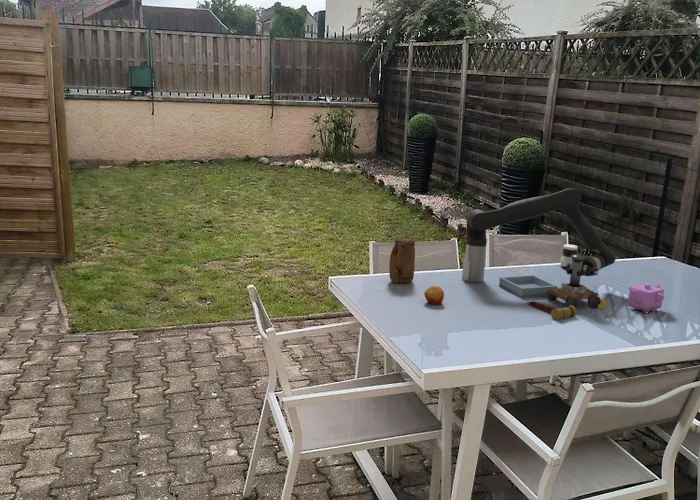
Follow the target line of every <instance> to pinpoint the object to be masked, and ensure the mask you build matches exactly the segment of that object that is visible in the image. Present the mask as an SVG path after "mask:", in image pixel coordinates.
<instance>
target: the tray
mask: <svg viewBox="0 0 700 500" xmlns="http://www.w3.org/2000/svg"><path fill="white" fill-rule="evenodd" d="M498 287H500V288H502V289H504V290H506V291H508V292H510V293H512V294H514V295H516V296H518V297H520V298H534V297H545V296H546V292H547V290H548V289H550V288H558V285H556V284H555V283H551V282H549V281H547V280H545V279H543V278H540V277H539V276H536V275H533V274H528V275H513V276H501V277H499V284H498Z"/></svg>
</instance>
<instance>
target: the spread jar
mask: <svg viewBox="0 0 700 500" xmlns="http://www.w3.org/2000/svg"><path fill="white" fill-rule="evenodd" d="M578 248H579V247H578V245H575V244H566V243H565V244H563V248H562V250H561V255H560V256H561V257H560V268H561V267H562V269H563V268H564V269H565V270H566V266H567V263H570V264H571V265H572V259H571V255H579V252H578Z"/></svg>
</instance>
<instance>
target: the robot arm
mask: <svg viewBox="0 0 700 500" xmlns="http://www.w3.org/2000/svg"><path fill="white" fill-rule="evenodd" d="M581 201H582V193H580V191H579V190H577V189H576V188H574V187H573V188H572V187H569V188H565V189H563V190H560V191H557V192H554V193H551V194H547V195H541V196H536V197H535V196H534V197H529V198H525V199H520V200H517V201H514V202H511V203H508V204H507V205H505V206H503V207H501V208H499V209H494V210H490V211H484V210H482V209H479V208H477V209H473V210H471V211H470V212H469V213H468V215H467V219H466V228H465V229H466V232H465V234H466V235H465V238H466V245H465V247H466V248H465V256H464V257H465V258H464V259H463V260H462V261H463V262H462V275H461V279H462V280H464V281H466V282H467V283H482V282H484V279H485V269H486V268H485V266H486V257H487V256H486V255H487V243H488V239H487V230H490V229H493V228H495V227H499V226H502V225H507V224H512V223H517V222H521V221H526V220H530V219H534V218H537V217H539V216H541V215H544V214H547V213H550V212H553V211H556V210H561V211H562V213H564V215H565V216H566V217H567V219H568V220H569V221H570V222H571V224H572V226H573V227H574V229H575V230H576V232H577V233H578V235H579V237H580V239H581V240H582V243H583V244H584V246H585V248H586V249H587V250H588V251H593V250H598V251H599V252H598V253H595V254H592V255H590V256H587V257H584V260H583V261H582V269H581V270H580V271H578V276H579V277H580V276H581V277H593V276H598V274H599V271H600V270H601V269H604V268H606V267H608V266H612V265H613V264H615V263H616V255H615V253H614V252H613V251H612V250H611V249H610V248H609V247H608V246H607V245H606V244H605V242H604V241H602V239H601V238H600V236H599V234H598V233H597V230H596V229H595V228H594V226H593V225H592V224H591V223H590V222H589V220H588V219H587V218H586V217H584V215H583V214H582V212H581V210H580V208H579V206H578V205H579V204H580V203H581ZM571 267H572V265H571V264H570V263H567V266H566V269H565V272H566V275H571ZM581 277H580V278H581Z"/></svg>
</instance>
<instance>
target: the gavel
mask: <svg viewBox="0 0 700 500" xmlns="http://www.w3.org/2000/svg"><path fill="white" fill-rule="evenodd" d="M526 304H527V305H529V306H530V307H532V308H534V309H538V310H541V311H543V312H547V313H550V315H551V319H552V320H556V321H561V320H562V319H566V318H567V319H568V318H574V317H576V315H577V314H578V313H577V312H578V311H577V308H575V307H574V306H572V305H570V306H565V307H560V308H558V307H556V306H552V305H549V304H545V303H542V302H539V301H534V300H533V301H527V302H526Z"/></svg>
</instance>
